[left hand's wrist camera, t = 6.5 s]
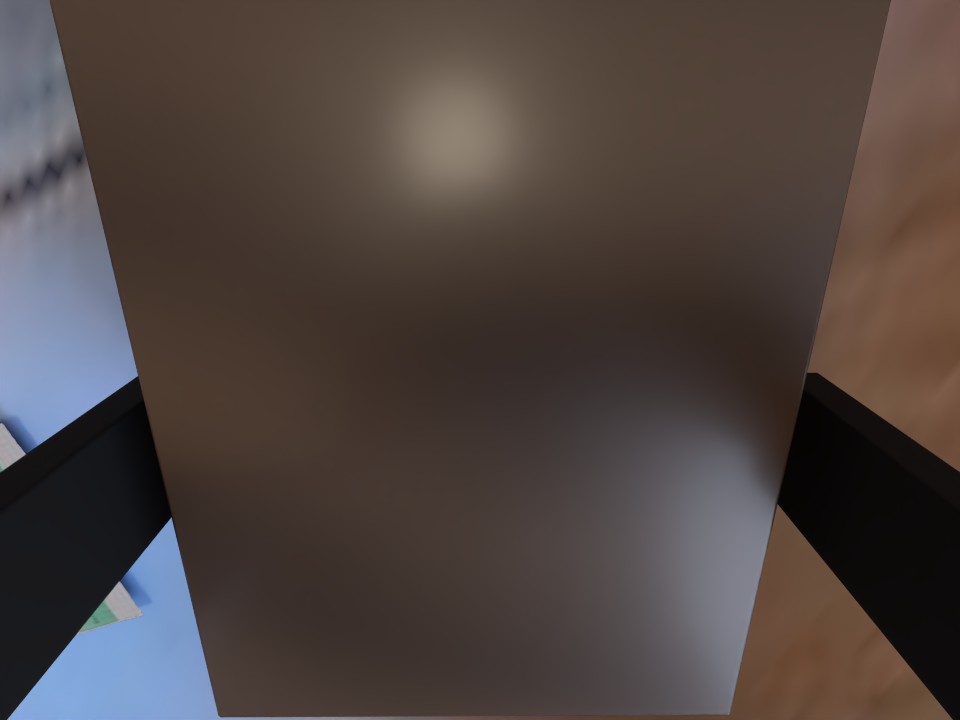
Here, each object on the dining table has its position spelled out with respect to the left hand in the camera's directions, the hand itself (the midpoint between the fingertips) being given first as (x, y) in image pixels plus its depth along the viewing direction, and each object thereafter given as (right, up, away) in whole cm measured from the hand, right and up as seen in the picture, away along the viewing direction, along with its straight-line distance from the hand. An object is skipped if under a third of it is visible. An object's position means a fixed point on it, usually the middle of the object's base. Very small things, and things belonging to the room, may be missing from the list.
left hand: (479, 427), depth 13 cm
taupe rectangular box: (0, +6, +4) cm, 8 cm away
